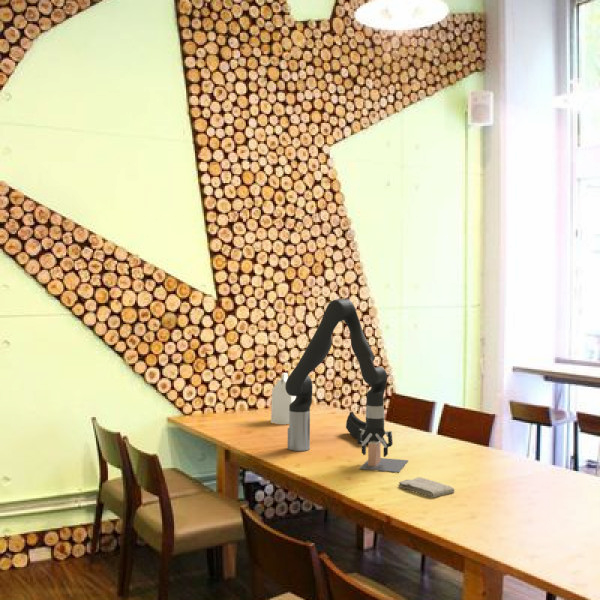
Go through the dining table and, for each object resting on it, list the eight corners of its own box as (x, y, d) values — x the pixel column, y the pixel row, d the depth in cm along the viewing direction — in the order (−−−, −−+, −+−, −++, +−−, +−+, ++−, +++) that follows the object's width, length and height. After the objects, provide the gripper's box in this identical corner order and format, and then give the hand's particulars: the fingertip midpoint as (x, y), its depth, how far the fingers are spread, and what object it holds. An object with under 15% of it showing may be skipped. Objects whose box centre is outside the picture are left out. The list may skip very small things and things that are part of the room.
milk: (291, 424, 384) (291, 375, 384) (270, 423, 387) (271, 374, 387) (298, 420, 396) (298, 372, 395) (277, 419, 399) (278, 371, 398)
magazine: (376, 427, 332) (355, 398, 360) (370, 427, 332) (348, 398, 359) (372, 460, 338) (351, 429, 365) (365, 461, 337) (345, 430, 364)
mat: (359, 469, 292) (359, 468, 292) (370, 458, 311) (370, 457, 311) (398, 472, 287) (398, 471, 287) (408, 461, 306) (408, 460, 306)
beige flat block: (368, 465, 297) (368, 443, 296) (373, 460, 305) (373, 438, 305) (375, 466, 296) (375, 443, 295) (380, 461, 304) (380, 439, 304)
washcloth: (418, 483, 274) (418, 474, 274) (456, 494, 260) (456, 485, 260) (396, 488, 267) (396, 479, 267) (433, 500, 253) (433, 491, 253)
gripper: (355, 416, 299) (355, 456, 299) (390, 418, 294) (389, 459, 294) (360, 413, 306) (360, 452, 306) (394, 415, 301) (393, 455, 302)
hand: (374, 455), depth 300 cm, fingers open, 8 cm apart
